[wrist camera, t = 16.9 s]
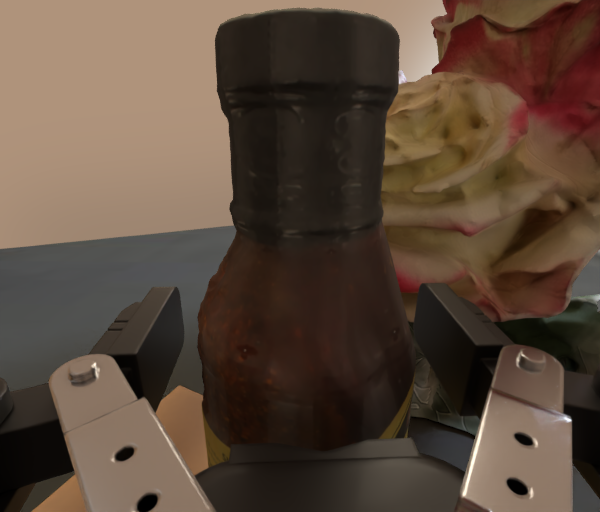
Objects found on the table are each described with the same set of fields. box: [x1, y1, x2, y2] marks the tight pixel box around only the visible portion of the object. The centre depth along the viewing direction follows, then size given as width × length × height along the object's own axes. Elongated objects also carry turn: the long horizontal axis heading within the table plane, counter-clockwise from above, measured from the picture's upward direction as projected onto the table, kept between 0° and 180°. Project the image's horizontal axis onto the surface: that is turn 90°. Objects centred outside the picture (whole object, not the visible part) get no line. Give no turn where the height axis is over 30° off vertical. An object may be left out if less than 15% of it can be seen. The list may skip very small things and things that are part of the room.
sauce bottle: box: [197, 8, 416, 468], centre depth 11 cm, size 6×6×20 cm
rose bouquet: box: [381, 0, 600, 436], centre depth 26 cm, size 26×29×30 cm
